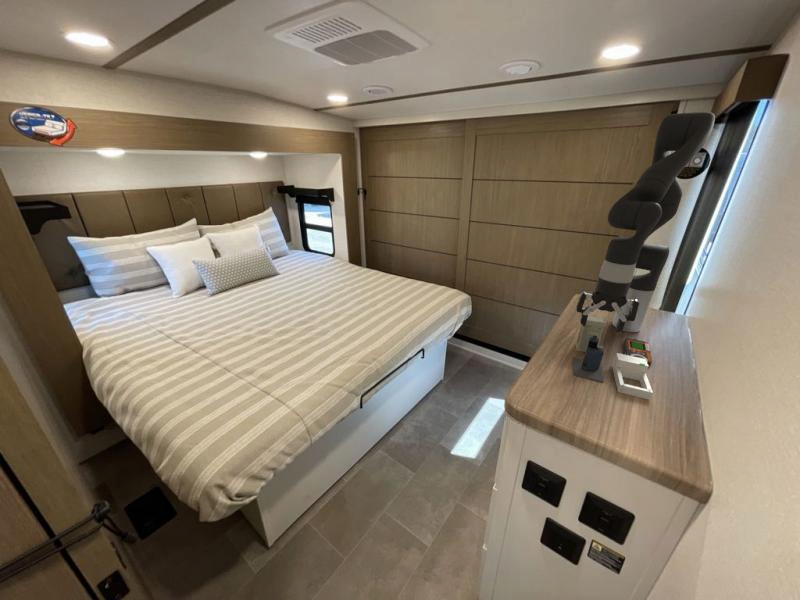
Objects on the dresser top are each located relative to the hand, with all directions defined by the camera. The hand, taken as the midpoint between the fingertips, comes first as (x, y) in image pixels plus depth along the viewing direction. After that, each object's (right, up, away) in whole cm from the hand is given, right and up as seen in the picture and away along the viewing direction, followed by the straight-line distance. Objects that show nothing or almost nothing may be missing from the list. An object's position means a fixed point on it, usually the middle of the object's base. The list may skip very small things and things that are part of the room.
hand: (599, 328), depth 90 cm
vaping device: (+1, -14, +6) cm, 15 cm away
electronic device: (+21, -11, +13) cm, 27 cm away
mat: (0, -14, +6) cm, 15 cm away
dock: (+12, -14, +5) cm, 19 cm away
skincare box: (+6, -9, +17) cm, 20 cm away
